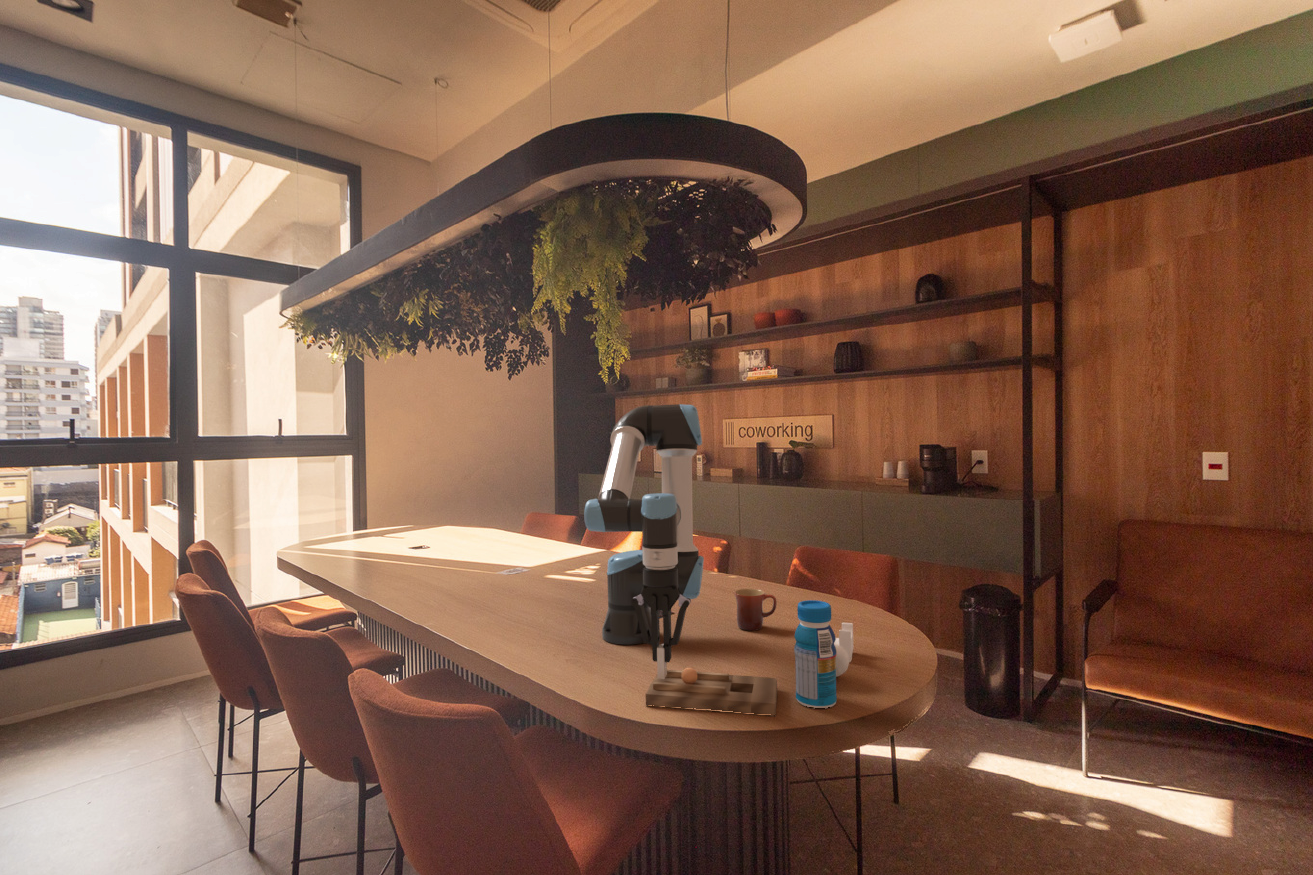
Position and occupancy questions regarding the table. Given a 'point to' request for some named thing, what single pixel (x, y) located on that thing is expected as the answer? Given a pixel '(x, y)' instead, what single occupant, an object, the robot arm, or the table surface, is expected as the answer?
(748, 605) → the mug
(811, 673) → the beverage bottle
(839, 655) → the white knot
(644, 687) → the table surface
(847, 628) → the bracket
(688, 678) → the ball
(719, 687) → the lane board
